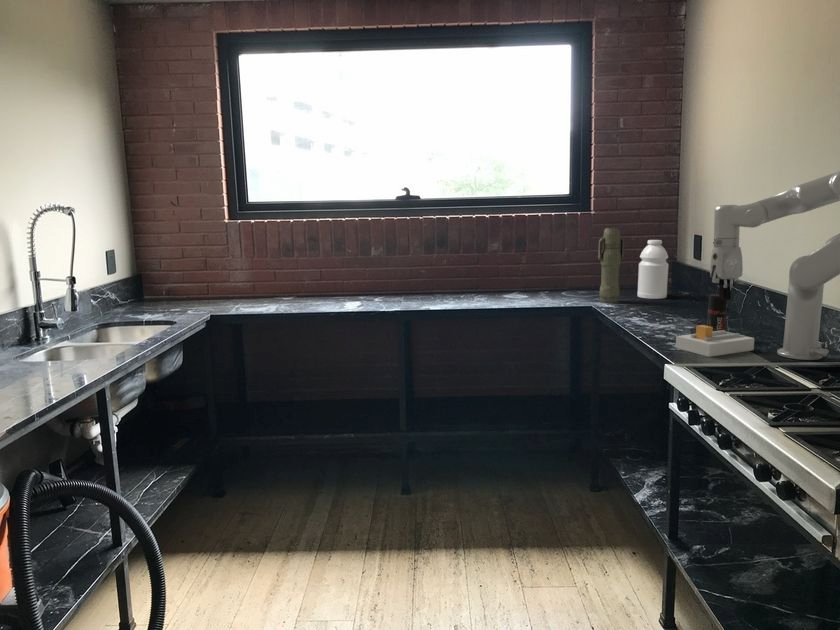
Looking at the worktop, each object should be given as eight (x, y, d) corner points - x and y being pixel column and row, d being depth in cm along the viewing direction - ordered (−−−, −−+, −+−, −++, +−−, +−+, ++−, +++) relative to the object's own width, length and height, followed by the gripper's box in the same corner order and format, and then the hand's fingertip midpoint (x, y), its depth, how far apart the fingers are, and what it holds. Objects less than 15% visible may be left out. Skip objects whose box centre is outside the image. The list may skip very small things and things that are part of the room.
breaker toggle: (712, 339, 221) (712, 327, 220) (705, 340, 219) (706, 327, 219) (702, 336, 224) (703, 324, 223) (695, 337, 223) (696, 325, 222)
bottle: (633, 294, 342) (636, 239, 337) (661, 294, 341) (664, 239, 336) (641, 299, 328) (644, 241, 323) (670, 299, 328) (673, 241, 323)
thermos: (593, 300, 325) (595, 227, 318) (615, 299, 327) (618, 227, 321) (602, 303, 316) (605, 228, 310) (624, 302, 319) (628, 227, 313)
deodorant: (714, 338, 240) (716, 296, 237) (702, 335, 246) (705, 294, 243) (728, 337, 242) (731, 296, 239) (716, 334, 247) (719, 293, 245)
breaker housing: (753, 350, 222) (754, 335, 222) (708, 356, 214) (709, 341, 213) (719, 341, 235) (719, 327, 234) (675, 347, 227) (676, 333, 226)
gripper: (718, 245, 213) (717, 303, 216) (752, 242, 219) (750, 298, 222) (700, 244, 219) (698, 300, 222) (733, 241, 225) (731, 296, 228)
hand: (724, 299), depth 222 cm, fingers closed
